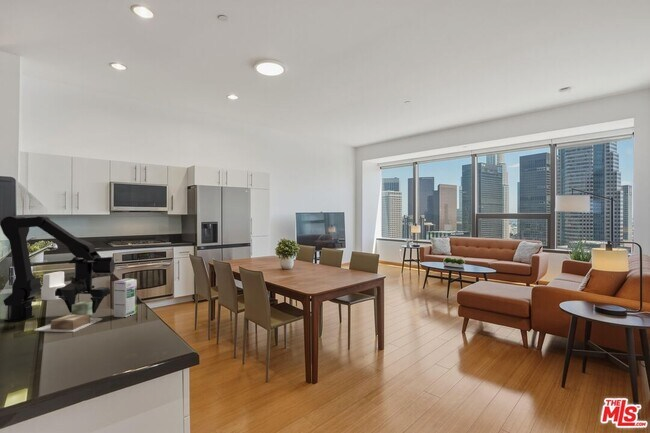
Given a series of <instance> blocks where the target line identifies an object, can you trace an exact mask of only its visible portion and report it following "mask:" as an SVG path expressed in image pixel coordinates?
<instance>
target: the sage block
mask: <svg viewBox="0 0 650 433" xmlns="http://www.w3.org/2000/svg"><path fill="white" fill-rule="evenodd" d="M71 314H91V315H90V316H92V315H94V313H92V301H80V302H75V304H73V305H72V313H71Z"/></svg>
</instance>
